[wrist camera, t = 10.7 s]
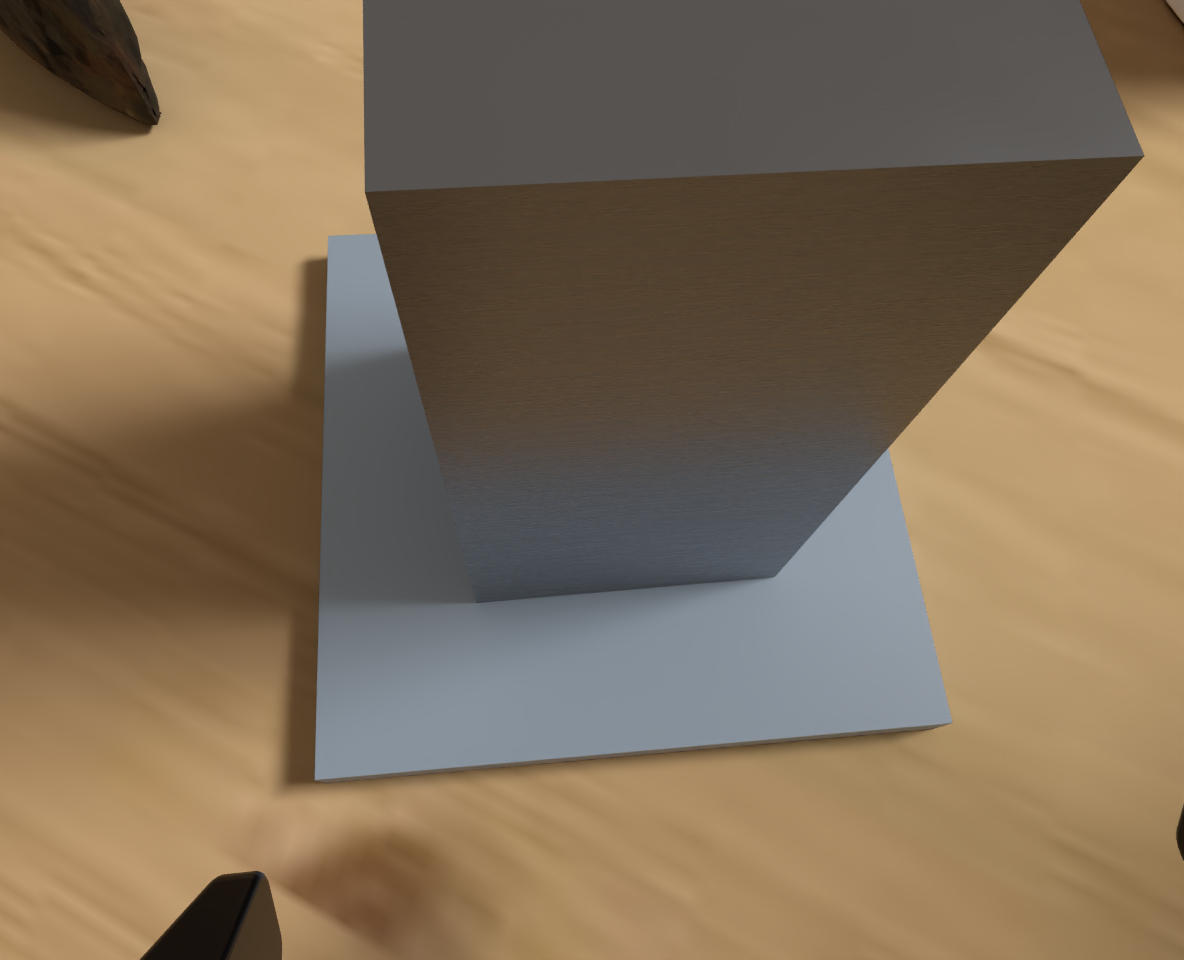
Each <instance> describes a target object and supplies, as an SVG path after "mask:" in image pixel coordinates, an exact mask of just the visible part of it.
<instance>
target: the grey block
mask: <svg viewBox="0 0 1184 960" xmlns="http://www.w3.org/2000/svg"><path fill="white" fill-rule="evenodd" d="M363 44H364V147H365V194H366V198H367V201H368V205H369V209H370V212H371V216H372V220H373V223H374V227H375V231H376V234H377V238H378V242H379V246H380V249H381V253H382V257H383V260H384V264H385V268H386V271H387V275H388V279H389V282H390V286H391V290H392V293H393V297H394V301H395V304H396V308H397V312H398V315H399V319H400V323H401V326H402V330H403V334H404V338H405V341H406V345H407V349H408V352H409V356H410V360H411V363H412V367H413V371H414V374H415V378H416V382H417V385H418V389H419V393H420V396H421V400H422V404H423V407H424V411H425V415H426V418H427V422H428V426H429V430H430V433H431V437H432V441H433V444H434V448H435V452H436V455H437V459H438V463H439V466H440V470H441V474H442V477H443V481H444V485H445V488H446V492H447V496H448V499H449V503H450V507H451V510H452V514H453V518H454V522H455V525H456V529H457V533H458V536H459V540H460V544H461V547H462V551H463V555H464V558H465V562H466V566H467V569H468V573H469V577H470V580H471V584H472V588H473V591H474V595H475V599H476V602H477V603H482V602H494V601H506V600H517V599H529V598H541V597H552V596H564V595H575V594H587V593H599V592H610V591H622V590H633V589H645V588H657V587H668V586H680V585H692V584H703V583H715V582H726V581H738V580H750V579H761V578H773V577H775V576H776V575H777V574H778V573H779V572H780V571H781V570H782V568H783V567H784V566H785V565H786V564H787V563H788V562H789V561H790V559H791V558H792V557H793V556H794V555H795V554H796V553H797V551H798V550H799V549H800V548H801V547H802V546H803V545H804V543H805V542H806V541H807V540H808V539H809V538H810V537H811V535H812V534H813V533H814V532H815V531H816V530H817V529H818V527H819V526H820V525H821V524H822V523H823V522H824V521H825V519H826V518H827V517H828V516H829V515H830V514H831V513H832V511H833V510H834V509H835V508H836V507H837V506H838V505H839V503H840V502H841V501H842V500H843V499H844V498H845V497H846V495H847V494H848V493H849V492H850V491H851V490H852V489H853V488H854V486H855V485H856V484H857V483H858V482H859V481H860V480H861V478H862V477H863V476H864V475H865V474H866V473H867V472H868V470H869V469H870V468H871V467H872V466H873V465H874V464H875V462H876V461H877V460H878V459H879V458H880V457H881V456H882V454H883V453H884V452H885V451H886V450H887V449H888V448H889V446H890V445H891V444H892V443H893V442H894V441H895V440H896V438H897V437H898V436H899V435H900V434H901V433H902V432H903V430H904V429H905V428H906V427H907V426H908V425H909V424H910V422H911V421H912V420H913V419H914V418H915V417H916V416H917V415H918V413H919V412H920V411H921V410H922V409H923V408H924V407H925V405H926V404H927V403H928V402H929V401H930V400H931V399H932V397H933V396H934V395H935V394H936V393H937V392H938V391H939V389H940V388H941V387H942V386H943V385H944V384H945V383H946V381H947V380H948V379H949V378H950V377H951V376H952V375H953V373H954V372H955V371H956V370H957V369H958V368H959V367H960V365H961V364H962V363H963V362H964V361H965V360H966V359H967V357H968V356H969V355H970V354H971V353H972V352H973V351H974V349H975V348H976V347H977V346H978V345H979V344H980V343H981V342H982V340H983V339H984V338H985V337H986V336H987V335H988V334H989V332H990V331H991V330H992V329H993V328H994V327H995V326H996V324H997V323H998V322H999V321H1000V320H1001V319H1002V318H1003V316H1004V315H1005V314H1006V313H1007V312H1008V311H1009V310H1010V308H1011V307H1012V306H1013V305H1014V304H1015V303H1016V302H1017V300H1018V299H1019V298H1020V297H1021V296H1022V295H1023V294H1024V292H1025V291H1026V290H1027V289H1028V288H1029V287H1030V286H1031V284H1032V283H1033V282H1034V281H1035V280H1036V279H1037V278H1038V276H1039V275H1040V274H1041V273H1042V272H1043V271H1044V270H1045V269H1046V267H1047V266H1048V265H1049V264H1050V263H1051V262H1052V261H1053V259H1054V258H1055V257H1056V256H1057V255H1058V254H1059V253H1060V251H1061V250H1062V249H1063V248H1064V247H1065V246H1066V245H1067V243H1068V242H1069V241H1070V240H1071V239H1072V238H1073V237H1074V235H1075V234H1076V233H1077V232H1078V231H1079V230H1080V229H1081V227H1082V226H1083V225H1084V224H1085V223H1086V222H1087V221H1088V219H1089V218H1090V217H1091V216H1092V215H1093V214H1094V213H1095V211H1096V210H1097V209H1098V208H1099V207H1100V206H1101V205H1102V203H1103V202H1104V201H1105V200H1106V199H1107V198H1108V197H1109V196H1110V194H1111V193H1112V192H1113V191H1114V190H1115V189H1116V188H1117V186H1118V185H1119V184H1120V183H1121V182H1122V181H1123V180H1124V178H1125V177H1126V176H1127V175H1128V174H1129V173H1130V172H1131V170H1132V169H1133V168H1134V167H1135V166H1136V165H1137V164H1138V162H1139V161H1140V160H1141V159H1142V158H1143V157H1144V154H1143V151H1142V149H1141V147H1140V144H1139V142H1138V139H1137V137H1136V135H1135V132H1134V130H1133V127H1132V125H1131V123H1130V120H1129V118H1128V115H1127V113H1126V111H1125V108H1124V106H1123V103H1122V101H1121V99H1120V96H1119V94H1118V91H1117V89H1116V87H1115V84H1114V82H1113V79H1112V77H1111V74H1110V72H1109V70H1108V67H1107V65H1106V62H1105V60H1104V58H1103V55H1102V53H1101V50H1100V48H1099V46H1098V43H1097V41H1096V38H1095V36H1094V34H1093V31H1092V29H1091V26H1090V24H1089V22H1088V19H1087V17H1086V14H1085V12H1084V10H1083V7H1082V5H1081V2H1080V0H363Z"/></svg>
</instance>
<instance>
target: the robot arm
mask: <svg viewBox="0 0 1184 960" xmlns="http://www.w3.org/2000/svg"><path fill="white" fill-rule="evenodd" d="M1176 840H1177V844H1178V848H1179V851H1180V854H1181V856H1182V858H1183V860H1184V805H1183V808H1182V812H1181V816H1180V819H1179V823H1178V826H1177V831H1176ZM140 960H282V939H281V933H280V928H279V924H278V920H277V916H276V911H275V907H274V903H273V899H272V894H271V890H270V886H269V882H268V880H267V878H266V876H265V875H264V873H262V872H259V871H251V872H242V873H233V874H224V875H220V876H218V877H217V878H215V879H214V880H212V881H211V882H210V883H209V884H208V885H207V886H206V887H205V889H204V890H203V891H202V892H201V893H200V894H199V895H198V896H197V897H196V898H195V900H194V901H193V902H192V903H191V904H190V905H189V906H188V907H187V908H186V909H185V910H184V912H183V913H182V914H181V915H180V916H179V917H178V918H177V919H176V920H175V921H174V923H173V924H172V925H171V926H170V927H169V928H168V929H167V930H166V931H165V932H164V934H163V935H162V936H161V937H160V938H159V939H158V940H157V941H156V942H155V943H154V945H153V946H152V947H151V948H150V949H149V950H148V951H147V952H146V953H145V954H144V955H143V957H142V958H141V959H140Z"/></svg>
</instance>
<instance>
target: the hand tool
mask: <svg viewBox="0 0 1184 960" xmlns="http://www.w3.org/2000/svg"><path fill="white" fill-rule="evenodd" d="M0 28H1V29H2V30H3V31H4V33H5V34H6V35H7V36H8V37H9V38H10V39H11V40H12V41H13V42H14V43H16V44H17V45H18V46H19V47H20V48H21V49H22V50H24V51H25V52H26V53H27V54H28V55H29V56H31V57H32V58H33V59H35V60H36V61H37V62H39V63H40V64H41V65H42V66H44V67H45V68H46V69H48V70H49V71H51V72H53V73H54V74H56V75H57V76H59V77H61V78H62V79H64V80H65V81H67V82H69V83H70V84H72V85H73V86H75V87H77V88H78V89H80V90H81V91H83V92H85V93H86V94H88V95H90V96H91V97H93V98H95V99H97V100H99V101H100V102H102V103H104V104H106V105H108V106H110V107H112V108H114V109H116V110H118V111H120V112H122V113H124V114H127V115H129V116H131V117H133V118H134V119H136V120H138V121H140V122H142V123H145V124H147V125H157V124H158V121H159V117H160V114H161V112H160V111H159V105H158V100H157V97H156V94H155V91H154V89H153V86H152V83H151V80H150V77H149V74H148V72H147V69H146V66H145V64H144V62H143V60H142V59H141V53H140V48H139V44H138V39H137V36H136V34H135V31H134V29H133V27H132V25H131V22H130V20H129V18H128V16H127V14H126V12H125V10H124V8H123V6H122V4H121V2H120V0H0Z"/></svg>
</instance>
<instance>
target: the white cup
mask: <svg viewBox="0 0 1184 960" xmlns="http://www.w3.org/2000/svg"><path fill="white" fill-rule="evenodd" d="M1166 2H1167V3H1168V4H1169V6H1170V7H1171V8H1172V10H1173V11H1174V12H1175V13H1176V15H1177V16H1178V17H1179V18H1180V20H1181V21H1182V22H1183V23H1184V0H1166Z"/></svg>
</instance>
